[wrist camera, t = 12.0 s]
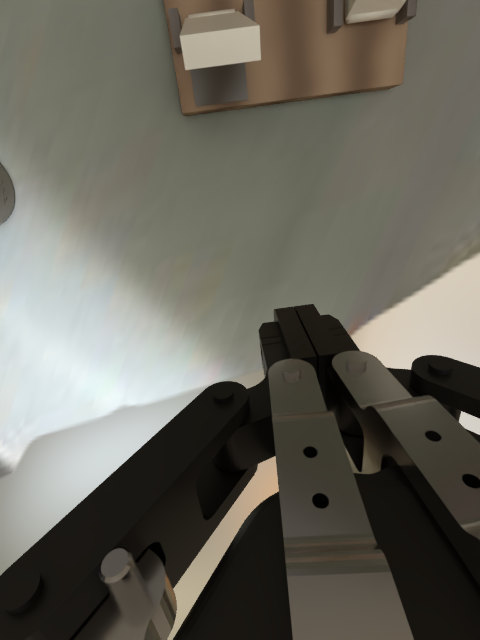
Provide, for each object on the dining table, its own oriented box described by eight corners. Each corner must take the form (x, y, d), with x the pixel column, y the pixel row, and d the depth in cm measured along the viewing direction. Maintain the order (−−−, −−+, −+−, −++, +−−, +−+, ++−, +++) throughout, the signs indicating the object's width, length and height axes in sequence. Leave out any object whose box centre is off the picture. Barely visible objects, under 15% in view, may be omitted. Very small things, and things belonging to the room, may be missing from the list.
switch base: (185, 115, 36) (180, 111, 32) (159, -37, 31) (149, -70, 26) (389, 88, 36) (414, 80, 32) (400, -70, 31) (432, -108, 26)
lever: (189, 43, 31) (186, 74, 21) (185, 14, 30) (178, 31, 19) (239, 36, 31) (261, 64, 21) (236, 7, 30) (259, 20, 19)
